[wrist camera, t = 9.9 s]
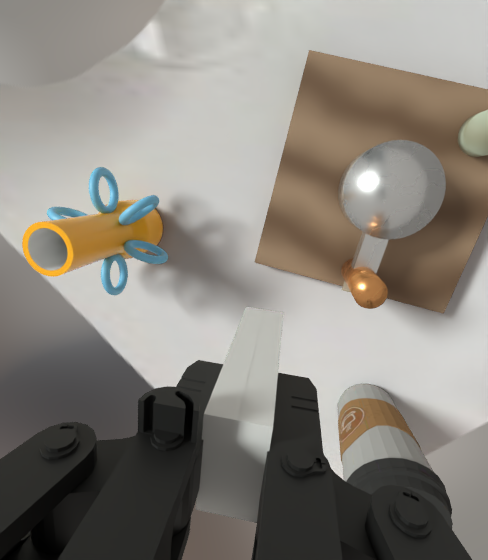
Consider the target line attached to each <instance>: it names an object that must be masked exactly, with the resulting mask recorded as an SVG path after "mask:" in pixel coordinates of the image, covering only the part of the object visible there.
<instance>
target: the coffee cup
mask: <svg viewBox="0 0 488 560" xmlns="http://www.w3.org/2000/svg"><path fill="white" fill-rule="evenodd" d="M338 428H339V441H340V453H341V461H342V465H343V477H344V481H346V482H347V483H349V484H351V485H352V486H354V487H356V488H358V489H361V490H363V491H365V492H367V493H369V494H371V495H373V493H374V492H375V491H376V490H377V489H378V488H379V487H382V486H387V485H395V486H401V487H405V488H407V489H410V490H412V491H414V492H416V493H418V494H420V495H421V496H422V497H424V498H425V499H426V500H428V501H429V502H430V503H432V504H433V506H434V507H435V508H436V509H437V510H438V511H439V512H440V514H441V515H442V516H443V517H444V519H445V520H446V522H447V523H448V525H449V526H450V528H451V529H452V519H451V514H452V508H451V504H450V500H449V497H448V495H447V493H446V490H445V486H444V484H443V483H442V481H441V480H440V478H439V477H438V476H437V475H436V474H435V473H434V472H433V470H432V468H431V467H430V465H429V463H428V462H427V460H426V458H425V456H424V454H423V453H422V451H421V449H420V446H419V444H418V442H417V441H416V439H415V437H414V436H413V434H412V432H411V430H410V429H409V427H408V425H407V424H406V422H405V420H404V418H403V417H402V415H401V414H400V412H399V411H398V410H397V408H396V406H395V404H394V403H393V401H392V399H391V398H390V396H389V395H388V394H387V393H386V392H385V391H384V390H383V389H381V388H379V387H377V386H375V385H371V384H358V385H354V386H352V387H350V388H348V389H347V390H346V391H345V392H344V393H343V394H342V396H341V397H340V399H339V402H338Z"/></svg>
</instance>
